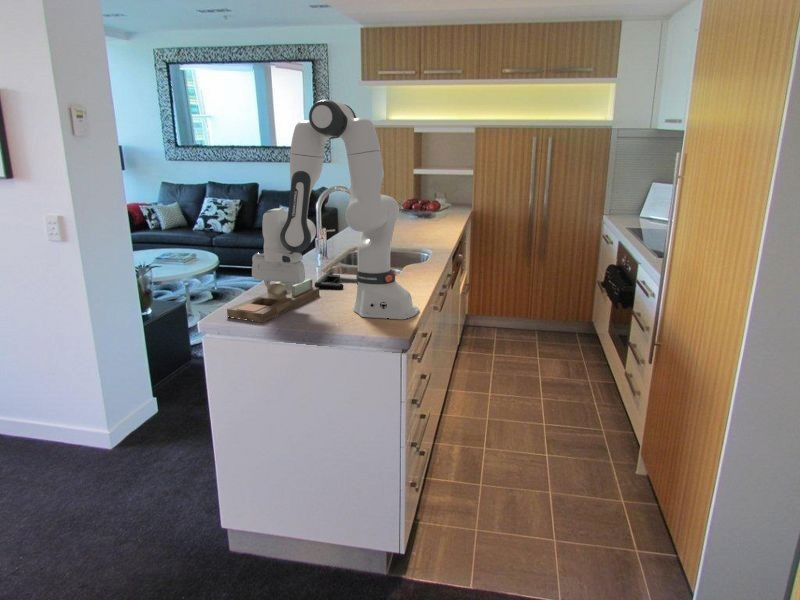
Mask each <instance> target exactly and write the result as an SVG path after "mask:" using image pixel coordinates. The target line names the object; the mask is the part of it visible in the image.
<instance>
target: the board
mask: <svg viewBox="0 0 800 600" xmlns="http://www.w3.org/2000/svg"><path fill="white" fill-rule="evenodd" d="M312 287H313V288H311V289H309V290H307V291H305V292H303V293H300V294H298V295H296V296H293V295H292V291H291V294H289V295H286V297H284V298H281V299H271V298H268V292H266V293H263V294H260V295H258V296H255V297H253V298H250V299H249V300H246V301H243V302H241V303H238V304H236V305H233V306H231V307H229V308H227V309H226V315H227V317H228V316H229V317H234V318H240V319H247V320H253V321H252V322H254V321H258V322H257V323H261V322H264V323H266V322H267V320H268V321H270V320H272V319H274V318H276V317H278V316H280V315H282V314H284V312H285V313H286V311H287V312H289V311H291V310H293V309H295V308H297V307H299V306H301V305H303V304H305V303H307V302H309V301H311V300H313V299H316V298H318V297H319V296H320V289H319V288H316V287H315V286H312ZM247 304H257V305H265V306H267V307H265V308H263V309H261V310H258V311H256V312H249V311H241V310H237V309H238V308H240V307H243V306H245V305H247ZM277 315H278V316H277ZM275 316H276V317H275ZM273 317H274V318H273ZM271 318H272V319H271ZM240 319H239V320H240ZM269 319H270V320H269ZM247 320H246V321H247ZM265 321H266V322H265Z"/></svg>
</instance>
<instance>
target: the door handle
mask: <svg viewBox="0 0 800 600" xmlns="http://www.w3.org/2000/svg"><path fill="white" fill-rule="evenodd" d="M350 282H356V283H355V284H357V279H356V278H354V277H353V278H351V277H341V275H340V274H339V275H338V274H333V272H332V271H330V270H329V271H327V272H326V273H324V274H323V275H322V277H320V278H319V279H318V280H317V281H316V282H314V287H315V288H319V290H320V289H327V290H343V289H344V285H343V283H350Z"/></svg>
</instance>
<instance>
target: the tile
mask: <svg viewBox="0 0 800 600" xmlns="http://www.w3.org/2000/svg"><path fill="white" fill-rule="evenodd" d="M265 307H267V306H265V305H257V304H247V305H245V306H243V307H240V308H238V309H237V310H241V311H249V312H256V311H258V310H261V309H263V308H265Z"/></svg>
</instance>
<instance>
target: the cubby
mask: <svg viewBox="0 0 800 600" xmlns="http://www.w3.org/2000/svg"><path fill="white" fill-rule="evenodd" d="M274 283H280V284H285V285H286V289H287V287H288V285H287V283H286V282H277V281H274ZM313 287H314V286H313V278H306V277H305V280H304V282H302V283H300V284H295V283H293V286H292V288H291V291H292V295H293V296H296V295H298V294H300V293H303V292H305V291H307V290H309V289H311V288H313Z"/></svg>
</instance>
